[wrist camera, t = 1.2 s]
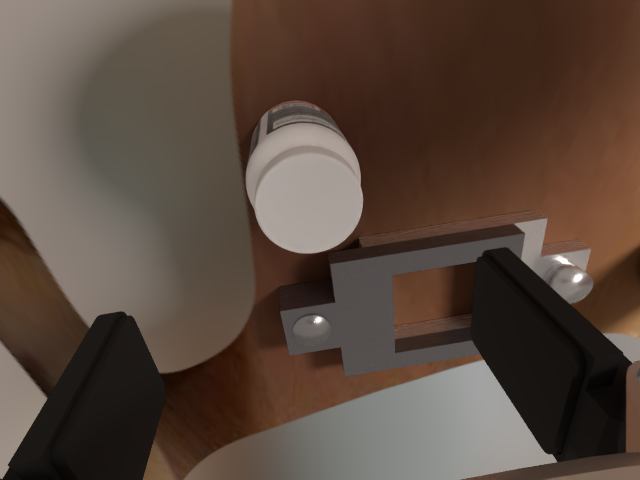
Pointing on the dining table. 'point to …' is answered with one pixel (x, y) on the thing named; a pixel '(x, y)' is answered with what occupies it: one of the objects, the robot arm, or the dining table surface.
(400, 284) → the dining table surface
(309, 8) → the dining table surface
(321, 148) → the pill bottle
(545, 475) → the robot arm
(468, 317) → the knobbed square frame
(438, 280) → the dining table surface
